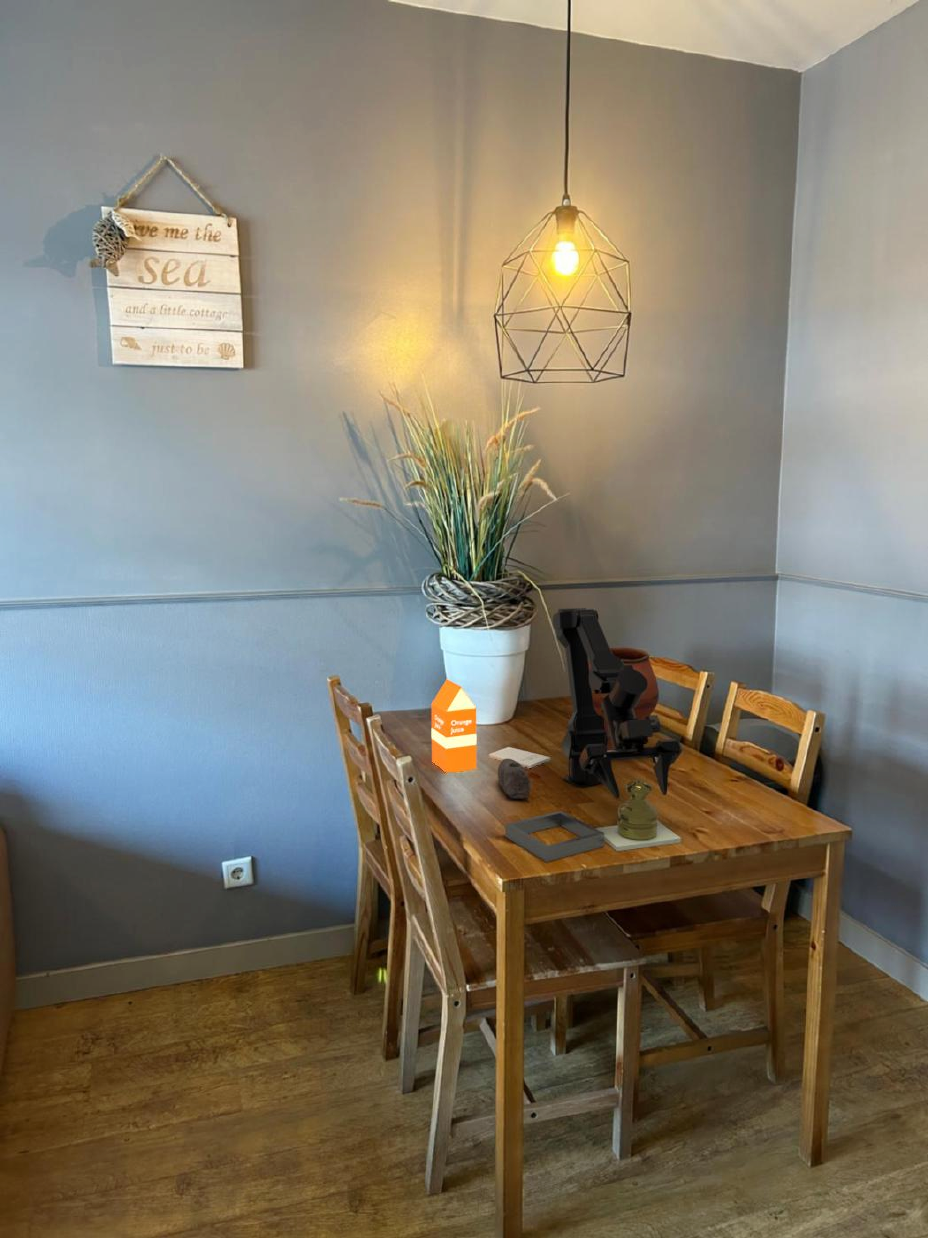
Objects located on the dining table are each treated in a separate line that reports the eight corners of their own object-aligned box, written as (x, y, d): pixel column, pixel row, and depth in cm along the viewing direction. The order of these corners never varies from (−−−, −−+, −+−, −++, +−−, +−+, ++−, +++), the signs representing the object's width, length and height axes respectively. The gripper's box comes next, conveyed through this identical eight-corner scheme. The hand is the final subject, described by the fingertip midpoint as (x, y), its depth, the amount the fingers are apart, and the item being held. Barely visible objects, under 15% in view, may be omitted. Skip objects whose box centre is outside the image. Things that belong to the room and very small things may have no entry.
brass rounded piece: (642, 822, 169) (644, 772, 168) (665, 837, 163) (667, 785, 161) (609, 828, 167) (610, 777, 165) (631, 843, 160) (632, 790, 158)
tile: (616, 851, 158) (617, 847, 158) (595, 832, 167) (595, 828, 167) (681, 842, 162) (681, 838, 162) (656, 824, 171) (656, 820, 171)
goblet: (575, 763, 208) (576, 659, 204) (579, 739, 226) (581, 644, 222) (658, 767, 204) (661, 662, 200) (655, 743, 223) (658, 646, 219)
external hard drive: (509, 752, 218) (550, 763, 210) (488, 760, 212) (530, 771, 204) (509, 746, 218) (551, 756, 210) (488, 754, 211) (530, 764, 203)
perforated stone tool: (492, 780, 196) (492, 750, 195) (515, 779, 197) (515, 749, 196) (507, 805, 181) (507, 772, 180) (532, 803, 182) (532, 771, 181)
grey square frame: (505, 836, 165) (505, 824, 165) (560, 822, 172) (561, 810, 171) (546, 862, 154) (546, 848, 154) (604, 846, 161) (604, 833, 160)
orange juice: (445, 774, 200) (445, 688, 197) (431, 763, 208) (430, 680, 205) (477, 769, 203) (477, 685, 200) (461, 758, 211) (461, 677, 208)
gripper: (585, 702, 163) (605, 780, 154) (680, 697, 166) (704, 773, 157) (571, 732, 172) (589, 806, 163) (661, 726, 175) (683, 799, 166)
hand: (641, 796), depth 162 cm, fingers open, 9 cm apart
